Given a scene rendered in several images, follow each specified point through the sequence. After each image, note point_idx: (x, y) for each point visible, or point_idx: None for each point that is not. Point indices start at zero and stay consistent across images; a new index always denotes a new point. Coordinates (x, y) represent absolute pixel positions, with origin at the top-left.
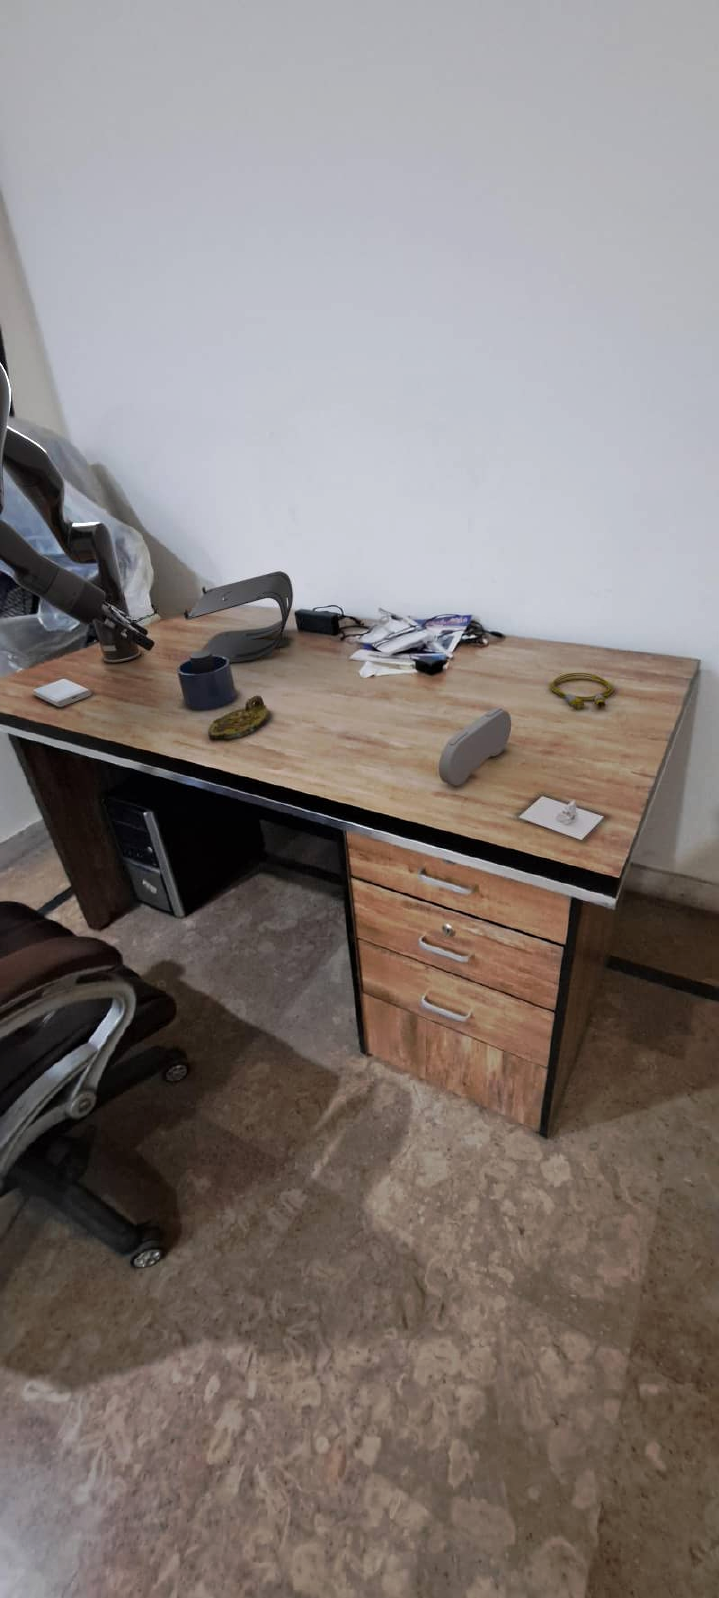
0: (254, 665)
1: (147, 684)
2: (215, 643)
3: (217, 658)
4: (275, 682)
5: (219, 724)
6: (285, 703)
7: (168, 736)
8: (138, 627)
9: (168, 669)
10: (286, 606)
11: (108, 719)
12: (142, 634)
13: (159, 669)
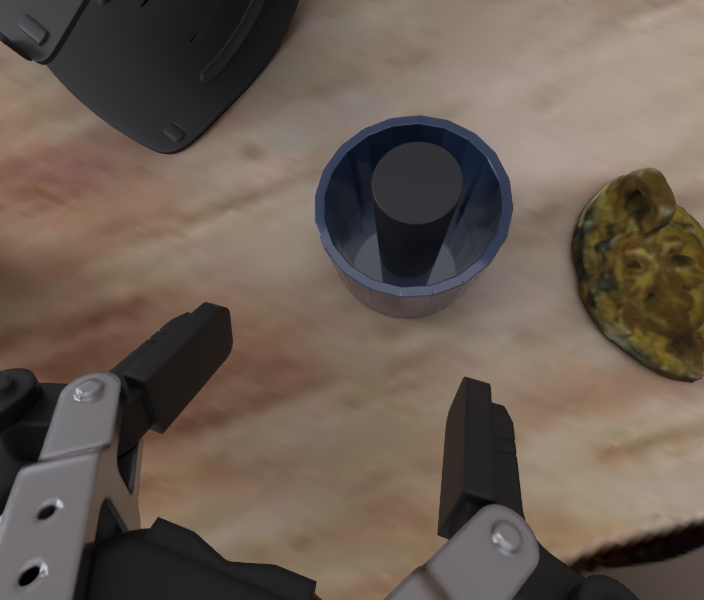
0: (295, 72)
1: (160, 323)
2: (81, 75)
3: (374, 138)
4: (443, 85)
5: (667, 331)
6: (592, 128)
7: (553, 453)
8: (188, 354)
9: (118, 235)
10: None
11: (292, 523)
12: (481, 461)
13: (96, 252)
